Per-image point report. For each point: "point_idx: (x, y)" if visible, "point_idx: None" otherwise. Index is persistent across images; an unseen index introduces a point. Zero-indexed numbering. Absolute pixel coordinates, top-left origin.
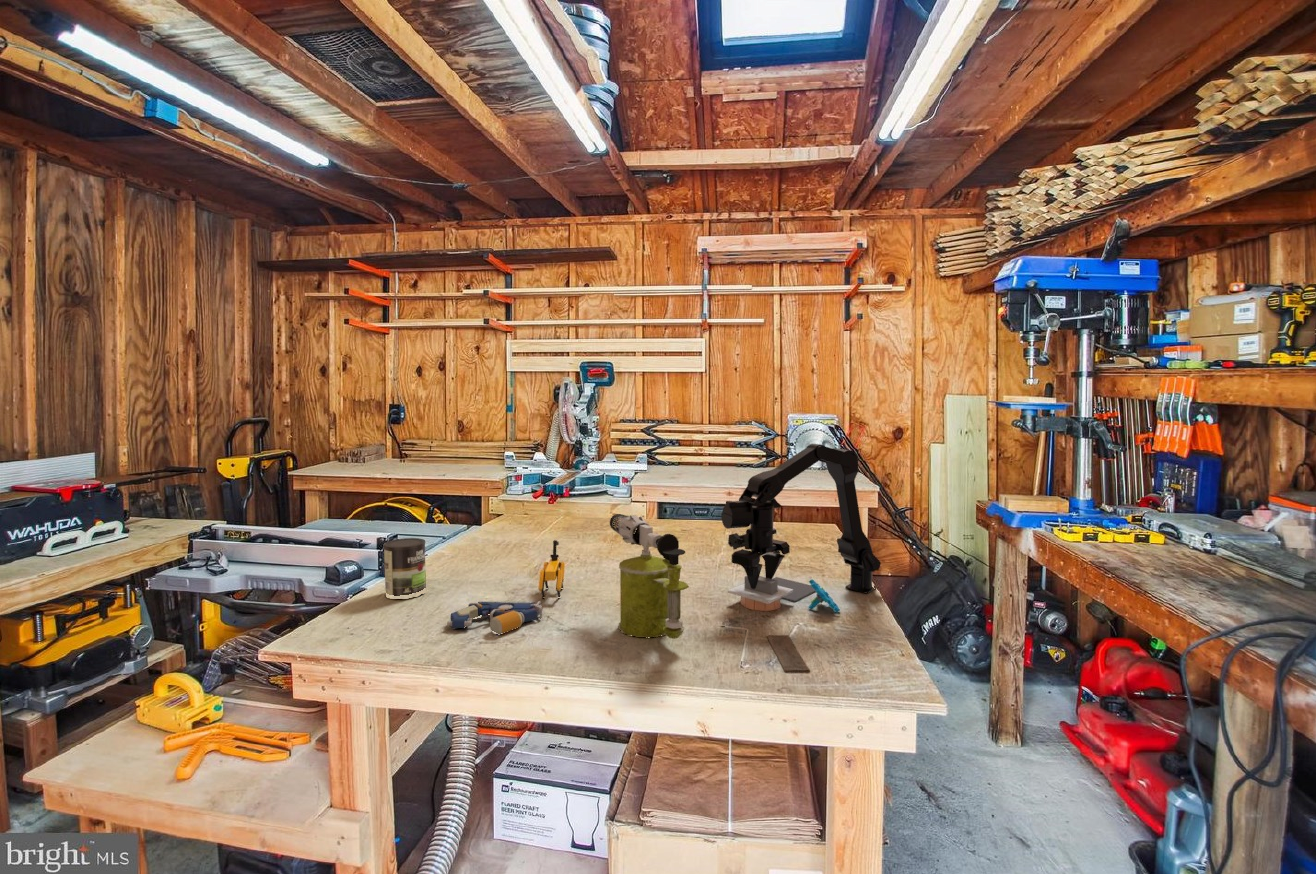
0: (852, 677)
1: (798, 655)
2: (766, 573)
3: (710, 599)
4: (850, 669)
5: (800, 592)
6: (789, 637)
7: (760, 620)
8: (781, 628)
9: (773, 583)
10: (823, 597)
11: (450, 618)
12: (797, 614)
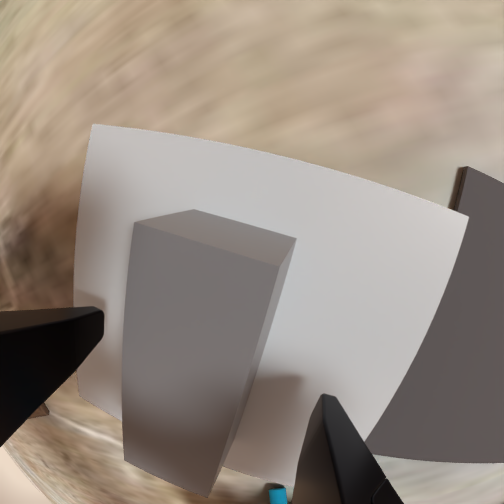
0: (33, 467)
1: None
2: (321, 446)
3: (173, 26)
4: (45, 473)
5: (470, 436)
6: (40, 414)
7: None
8: (72, 401)
9: (154, 468)
10: None
11: None
12: None
